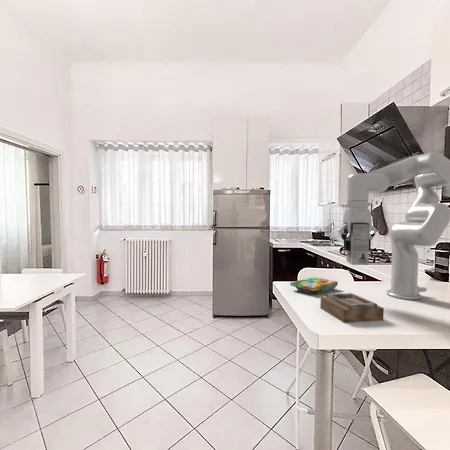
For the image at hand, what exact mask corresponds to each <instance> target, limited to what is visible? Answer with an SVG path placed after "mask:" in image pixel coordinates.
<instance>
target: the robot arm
mask: <svg viewBox="0 0 450 450" xmlns="http://www.w3.org/2000/svg"><path fill="white" fill-rule="evenodd" d="M413 178H414V184H415V188H416V196H415V198H414V200H413V201H412V202H411V204H410V205H409V207H408V209H407V210H406V213H405V214H404V215H405V216H404V218H405V219H404V220H405V221H402V222H397V223H394V224H392V226H391V227H390V230H389V237H390V243H391V275H390V276H391V277H390V278H391V279H390V289H387V290H386V294H387V295H388V296H390V297H393V298H397V299H403V300H409V301H411V300H415V301H416V300H417V301H418V300H421V299H422V295H421V294H420V293H423V292H424V293H426V292H427V291H428V290H427V287H425V286H422V287H420V286H419V285H418V279H419V278H418V277H419V275H418V274H419V273H418V272H419V253H418V250H417V249H416V247H417V246H418V247H432V246H433V245H434V246H435V245H436V243H438V241H439V240H440V238H441V236H442V235H443V234H444V232H445V230H446V229H447V226H448V225H449V223H450V207H449V205H447V204H445V203H441V202H440V197H439V195H438V193H437V192H436V191H435V190H434V188H436V187H437V188H438V187H445V186H446V187H447V186H450V159H449V158H448V157H446V156H444V155H443V154H441V153H439V152H434V151H432V152H428V153H426V152H425V153H422V154H417V155H412V156H410V157H408V158H405V159H402V160H399V161H398V162H394V163H392V164H388V165H386V166H383V167H381V168H378V169H374V170H372V171H369V172H365V173H363V172H362V173H353V174H349V175H348V176H347V188H346V189H347V190H346V191H347V193H346V195H347V197H346V209H344V212H343V220H342V225H341V226H339V228H337V229H336V230H337V231H336V232H337V233H338V235H339V236H340V238H341V239H342V241H343V250H344V251H345V252H346V251H350V250H351V241H349V239H350V238H351V223H369V251H371V247H372V246H371V245H372V242H371V241H372V240H373V238H374V237H375V235H376V233H377V232H378V229H377V228H376V227H375V226H373V225H372V223H373V222H372V214H371V210H370V208H369V207H370V206H371V202H369V198H370V197H369V195H370V194H380V193H383V192H385V191H387V190H388V188H389V187H390V186H394V185H398V184H402V183H404V182H405V181H408V180H411V179H413ZM415 246H416V247H415Z"/></svg>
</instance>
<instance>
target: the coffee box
mask: <svg viewBox="0 0 450 450" xmlns="http://www.w3.org/2000/svg"><path fill="white" fill-rule="evenodd" d="M349 241H351V250H350V251H346V250H345V252H346V257H345V258H346V262H348V263H349V264H351V265H352V266H369V264H370V262H369V258H370V257H369V255H370V254H369V253H370V250H369V223H351V238H350V239H349Z"/></svg>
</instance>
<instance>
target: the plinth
mask: <svg viewBox="0 0 450 450" xmlns="http://www.w3.org/2000/svg"><path fill="white" fill-rule="evenodd" d="M319 306H320V309H321V310H323V311H324V312H326V313H328V314H329V315H331V316H332V317H333V318H335V319H338V320H339V321H340V322H343V323H360V322H361V323H362V322H363V323H364V322H375V321H376V322H377V321H378V322H379V321H380V322H381V321H384V310H385V308H384V307H383V306H380V305H378V303H376V302H373V301H372V300H368V299H366V298H364V297H362V296H359V295H357V294H355V293H351V292H350V293H349V292H348V293H345V292H344V293H326V296H321V297H320V305H319Z"/></svg>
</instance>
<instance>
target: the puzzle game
mask: <svg viewBox="0 0 450 450" xmlns="http://www.w3.org/2000/svg"><path fill="white" fill-rule="evenodd" d="M338 284H339V281H337V280H336V281H335V280H331V279H327V278H322V277H315V276H314V277H308V278H304V279H300V280H295V281H292V282H290V283H289V285H290V286H291V287H295V288H296V289H297V291H301V292H306V293H309V294H312V295H313V294H314V295H317V294H320V293H326V292H328V291H331V290H332V291H333V290H334V289H336V288H337V286H338Z"/></svg>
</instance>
